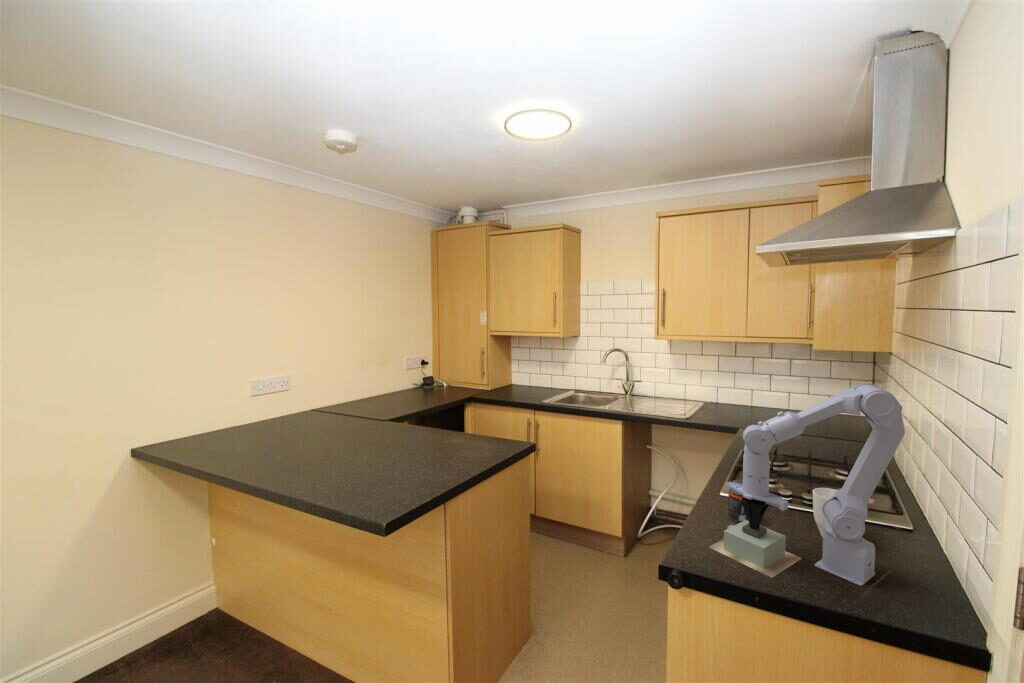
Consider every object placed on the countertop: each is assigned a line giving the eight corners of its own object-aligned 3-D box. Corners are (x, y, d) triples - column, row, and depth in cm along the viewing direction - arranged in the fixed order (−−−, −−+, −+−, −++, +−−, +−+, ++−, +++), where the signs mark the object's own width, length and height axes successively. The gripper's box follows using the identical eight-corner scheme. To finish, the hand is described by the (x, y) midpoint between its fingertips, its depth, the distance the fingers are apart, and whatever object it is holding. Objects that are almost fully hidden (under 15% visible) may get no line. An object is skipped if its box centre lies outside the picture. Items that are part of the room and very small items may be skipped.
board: (802, 559, 110) (802, 558, 110) (771, 579, 102) (771, 577, 102) (738, 532, 123) (738, 531, 123) (708, 548, 116) (708, 546, 116)
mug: (849, 550, 114) (849, 503, 113) (808, 538, 120) (808, 494, 119) (859, 533, 121) (859, 490, 121) (820, 523, 128) (820, 482, 127)
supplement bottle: (748, 527, 126) (749, 488, 125) (725, 521, 130) (726, 483, 129) (752, 518, 131) (753, 481, 130) (730, 513, 135) (731, 476, 134)
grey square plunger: (766, 550, 112) (766, 528, 112) (757, 555, 110) (758, 533, 110) (750, 543, 115) (751, 522, 115) (741, 548, 113) (742, 526, 113)
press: (785, 555, 111) (785, 535, 111) (763, 568, 106) (763, 548, 106) (739, 535, 121) (740, 517, 121) (717, 546, 116) (718, 528, 115)
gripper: (719, 469, 115) (718, 520, 116) (777, 488, 103) (776, 544, 104) (734, 463, 119) (733, 513, 120) (793, 480, 107) (791, 535, 108)
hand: (754, 527), depth 112 cm, fingers closed
